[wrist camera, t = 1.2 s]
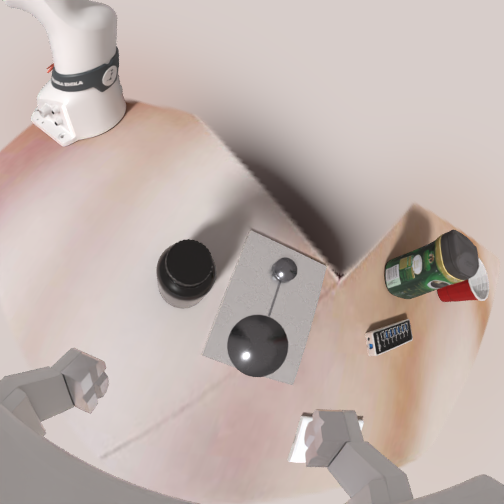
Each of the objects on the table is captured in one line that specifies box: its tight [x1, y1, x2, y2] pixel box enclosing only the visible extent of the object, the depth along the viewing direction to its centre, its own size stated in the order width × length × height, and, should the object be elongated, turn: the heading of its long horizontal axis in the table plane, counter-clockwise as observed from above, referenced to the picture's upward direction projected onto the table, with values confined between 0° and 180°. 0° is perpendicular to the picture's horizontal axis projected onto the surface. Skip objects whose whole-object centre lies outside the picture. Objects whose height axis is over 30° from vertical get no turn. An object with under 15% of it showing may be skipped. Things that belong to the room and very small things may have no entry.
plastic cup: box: [437, 258, 489, 302], centre depth 49 cm, size 11×11×12 cm
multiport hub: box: [365, 319, 413, 356], centre depth 44 cm, size 4×11×2 cm, turn 100°
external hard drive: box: [288, 416, 364, 462], centre depth 35 cm, size 2×8×12 cm
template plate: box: [201, 230, 327, 385], centre depth 39 cm, size 14×20×2 cm
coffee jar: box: [385, 230, 479, 299], centre depth 42 cm, size 10×8×19 cm
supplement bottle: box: [157, 239, 216, 308], centre depth 32 cm, size 7×7×12 cm
